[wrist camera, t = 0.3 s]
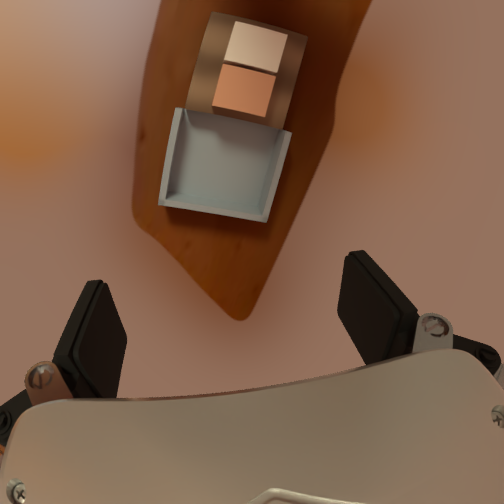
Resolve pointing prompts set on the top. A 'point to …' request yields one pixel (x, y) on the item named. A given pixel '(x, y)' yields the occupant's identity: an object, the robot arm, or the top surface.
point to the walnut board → (213, 61)
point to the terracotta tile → (243, 90)
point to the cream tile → (255, 48)
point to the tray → (222, 165)
